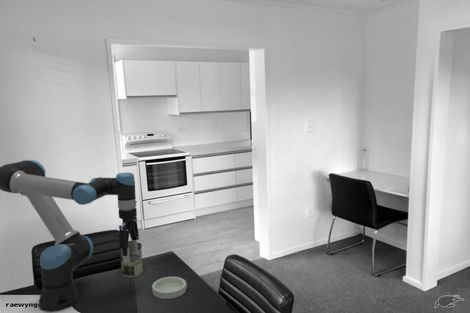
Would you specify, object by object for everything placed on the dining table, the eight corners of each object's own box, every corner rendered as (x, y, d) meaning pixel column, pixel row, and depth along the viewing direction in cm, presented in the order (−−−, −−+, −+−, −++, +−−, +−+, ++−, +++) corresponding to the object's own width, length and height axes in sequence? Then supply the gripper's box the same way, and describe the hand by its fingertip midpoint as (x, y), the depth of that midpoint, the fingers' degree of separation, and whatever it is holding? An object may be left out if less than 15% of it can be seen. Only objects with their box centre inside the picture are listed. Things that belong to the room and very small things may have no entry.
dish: (147, 298, 159) (147, 291, 158) (158, 282, 173) (158, 276, 173) (181, 300, 157) (181, 293, 156) (189, 283, 171) (189, 277, 171)
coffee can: (123, 279, 177) (122, 251, 175) (119, 271, 186) (118, 244, 184) (145, 274, 181) (143, 247, 180) (140, 266, 190) (138, 240, 189)
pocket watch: (135, 263, 158) (133, 240, 157) (117, 261, 160) (115, 239, 159) (143, 255, 166) (142, 234, 165) (126, 254, 168) (124, 233, 167)
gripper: (125, 215, 149) (129, 268, 152) (144, 202, 170) (147, 249, 173) (108, 215, 150) (111, 268, 153) (128, 202, 171) (131, 248, 174)
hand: (130, 258), depth 163 cm, fingers closed on pocket watch, 8 cm apart
